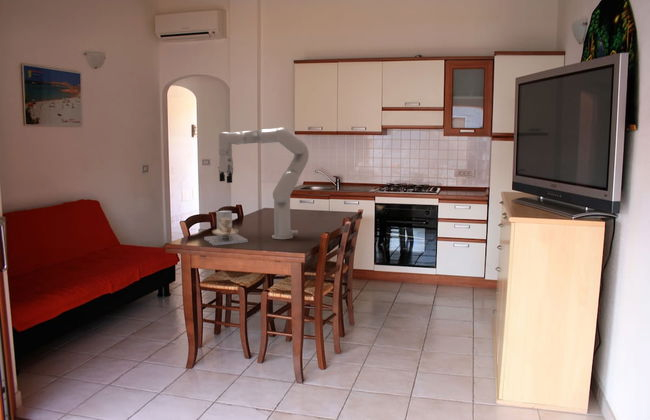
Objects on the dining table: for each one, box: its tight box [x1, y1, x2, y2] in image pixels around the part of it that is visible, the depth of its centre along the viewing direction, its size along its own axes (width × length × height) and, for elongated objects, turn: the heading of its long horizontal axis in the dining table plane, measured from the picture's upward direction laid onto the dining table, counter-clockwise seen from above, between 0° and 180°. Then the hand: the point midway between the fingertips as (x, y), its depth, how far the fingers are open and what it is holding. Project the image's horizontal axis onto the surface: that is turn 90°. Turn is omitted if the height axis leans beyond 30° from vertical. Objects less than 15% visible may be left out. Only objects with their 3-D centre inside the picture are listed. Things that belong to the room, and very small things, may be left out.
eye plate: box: [203, 233, 249, 246], centre depth 327 cm, size 20×20×2 cm
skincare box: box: [215, 210, 233, 229], centre depth 344 cm, size 8×6×15 cm
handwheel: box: [211, 217, 239, 238], centre depth 326 cm, size 15×15×11 cm
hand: (225, 182), depth 331 cm, fingers open, 9 cm apart
